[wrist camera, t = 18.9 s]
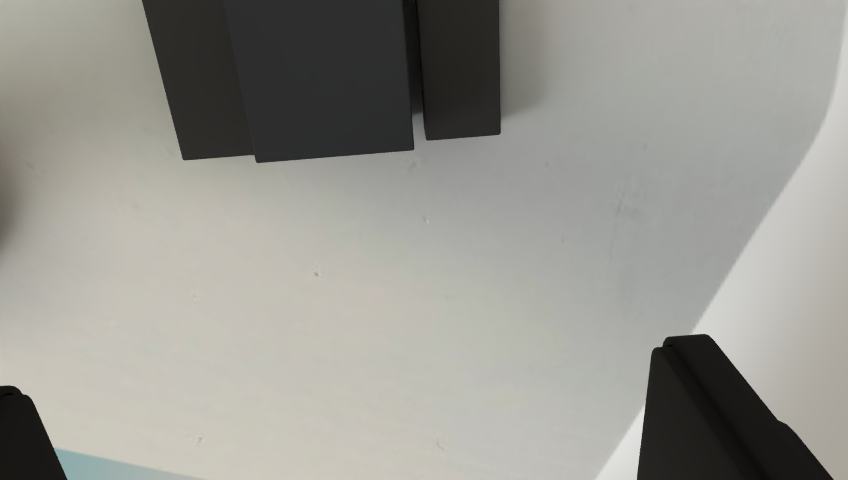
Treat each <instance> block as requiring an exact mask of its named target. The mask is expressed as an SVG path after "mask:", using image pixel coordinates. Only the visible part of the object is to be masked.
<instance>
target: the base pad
mask: <svg viewBox="0 0 848 480" xmlns="http://www.w3.org/2000/svg"><path fill="white" fill-rule="evenodd" d="M142 2H143V6H144V10H145V14H146V18H147V22H148V26H149V29H150V33H151V37H152V41H153V45H154V49H155V53H156V57H157V61H158V64H159V68H160V72H161V76H162V80H163V84H164V88H165V92H166V96H167V99H168V103H169V107H170V111H171V115H172V119H173V123H174V127H175V131H176V135H177V138H178V142H179V146H180V150H181V154H182V158H183V160H195V159H208V158H220V157H232V156H245V155H254V150H253V145H252V140H251V135H250V130H249V125H248V120H247V115H246V110H245V105H244V100H243V95H242V90H241V85H240V80H239V75H238V70H237V65H236V60H235V56H234V51H233V46H232V41H231V36H230V31H229V26H228V21H227V16H226V11H225V6H224V1H223V0H142ZM415 7H416V21H417V35H418V49H419V63H420V77H421V91H422V104H423V118H424V130H425V136H426V140H428V141H429V140H441V139H454V138H466V137H478V136H491V135H499V134H500V133H501V122H500V54H499V0H415Z"/></svg>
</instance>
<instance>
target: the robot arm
mask: <svg viewBox="0 0 848 480" xmlns="http://www.w3.org/2000/svg"><path fill="white" fill-rule="evenodd" d="M0 480H67V478H66V476H65V473H64V471H63V469H62V467H61V464H60V462H59V460H58V457H57V455H56V453H55V451H54V448H53V446H52V444H51V441H50V439H49V437H48V435H47V432H46V430H45V428H44V426H43V423H42V421H41V419H40V416H39V414H38V412H37V410H36V407H35V405H34V403H33V401H32V399H31V398H30V397H29V396H27V395H23V394H22V393H21V391H20V390H19V389H18V388H16V387H15V386H0ZM637 480H833V478H832V477H831V476H830V475H829V473H828V472H827V471H826V470H825V468H824V467H823V466H822V465H821V464H820V462H819V461H818V460H817V459H816V457H815V456H814V455H813V454H812V453H811V451H810V450H809V449H808V448H807V446H806V445H805V444H804V443H803V442H802V440H801V439H800V438H799V437H798V435H797V434H796V433H795V432H794V431H793V430H792V429H791V428H790V427H789V426H788V425H787V424H785V423H783V422H781V421H778V420H777V419H776V417H775V416H774V415H773V414H772V413H771V411H770V410H769V409H768V407H767V406H766V405H765V404H764V403H763V401H762V400H761V399H760V398H759V396H758V395H757V394H756V392H755V391H754V390H753V389H752V387H751V386H750V385H749V384H748V382H747V381H746V380H745V379H744V377H743V376H742V375H741V374H740V373H739V371H738V370H737V369H736V368H735V366H734V365H733V364H732V363H731V361H730V360H729V359H728V357H727V356H726V355H725V354H724V353H723V351H722V350H721V349H720V348H719V346H718V345H717V344H716V343H715V341H714V340H713V339H712V338H711V337H710V336H709V335H706V334H700V335H686V336H672V337H667V338H666V339H665V341H664V342H663V346H662V347H656V348H654V349H653V351H652V355H651V363H650V371H649V380H648V388H647V397H646V405H645V415H644V422H643V432H642V440H641V448H640V456H639V466H638V474H637Z"/></svg>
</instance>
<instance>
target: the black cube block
mask: <svg viewBox="0 0 848 480" xmlns="http://www.w3.org/2000/svg"><path fill="white" fill-rule="evenodd" d="M223 1H224V6H225V11H226V16H227V21H228V26H229V31H230V36H231V41H232V46H233V51H234V56H235V60H236V65H237V70H238V75H239V80H240V85H241V90H242V95H243V100H244V105H245V110H246V115H247V120H248V125H249V130H250V135H251V140H252V145H253V150H254V155H255V160H256V162H257V163H263V162H275V161H287V160H300V159H312V158H324V157H337V156H349V155H361V154H373V153H386V152H398V151H410V150H414V139H413V126H412V114H411V101H410V89H409V76H408V64H407V51H406V39H405V26H404V14H403V1H402V0H223Z"/></svg>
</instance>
